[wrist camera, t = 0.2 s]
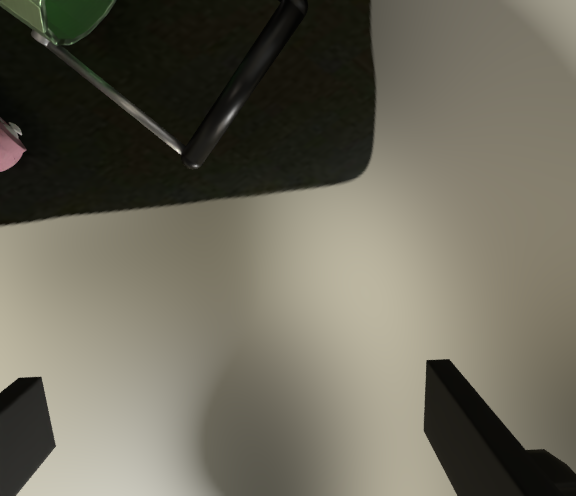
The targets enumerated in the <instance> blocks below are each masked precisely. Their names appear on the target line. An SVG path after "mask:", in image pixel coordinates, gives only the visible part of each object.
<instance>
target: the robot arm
mask: <svg viewBox="0 0 576 496" xmlns="http://www.w3.org/2000/svg"><path fill="white" fill-rule="evenodd" d="M424 432H425V434H426V436H427V438H428V440H429V442H430V444H431V446H432V448H433V450H434V451H435V453H436V455H437V457H438V459H439V461H440V463H441V465H442V467H443V469H444V470H445V473H446V474H447V476H448V478H449V480H450V482H451V484H452V486H453V488H454V490H455V492H456V494H457V496H576V474H575V473H574V472H573V471H572V470H571V469H570V467H569V466H568V465H567V464H565V463H564V462H562V461H561V460H559V459H558V458H556V457H555V456H553V455H552V454H550V453H549V452H547V451H546V450H544V449H543V450H542V449H540V450H525V449H524V448H523V446H521V444H520V443H519V442H518V440H517V439H516V438H515V437H514V436H513V435H512V433H511V432H510V431H509V430H508V429H507V428H506V426H505V425H504V424H503V423H502V421H501V420H500V419H499V418H498V417H497V416H496V415H495V413H494V412H493V411H492V410H491V409H490V408H489V406H488V405H487V404H486V403H485V401H484V400H483V399H482V398H481V397H480V395H479V394H478V393H477V392H476V391H475V389H474V388H473V387H472V386H471V385H470V383H469V382H468V381H467V380H466V379H465V378H464V376H463V375H462V374H461V373H460V372H459V370H458V369H457V368H456V367H455V366H454V365H453V363H452V362H451V361H450V360H449V359H446V360H445V359H443V360H427V362H426V387H425V412H424ZM55 447H56V445H55V440H54V436H53V431H52V426H51V421H50V416H49V411H48V407H47V402H46V397H45V392H44V387H43V382H42V378H41V377H28V378H27V377H26V378H18V379H17V380H16V381H14V382H13V383H12V384H11V385H9V386H8V387H7V388H6V389H4V390H3V391H2V392H1V393H0V496H16V495H17V493H18V492H19V491H20V490H21V488H22V487H23V486H24V485H25V484H26V482H27V481H28V480H29V478H31V476H32V475H33V474H34V473H35V471H36V470H37V469H38V468H39V466H40V465H41V464H42V463H43V462H44V460H45V459H46V458H47V457H48V455H49V454H50V453H51V452H52V450H53V449H54V448H55Z"/></svg>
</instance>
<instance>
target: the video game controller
mask: <svg viewBox="0 0 576 496" xmlns="http://www.w3.org/2000/svg"><path fill="white" fill-rule="evenodd" d="M9 124H10V125H11V126H12V127H11V126H9V125H8V124H7V123H6V122H5V121H4V120H3V119H2V118H1V117H0V172H1V171H5V170H7V169H9V168H10V167H12V166H14V165H15V164H16V163H17V162H18V161H19V159H20V158H21V156H22V154H23V152H24V151H26V148H25V146H24V145H23V143H22V142H21V141H20V140H19V138H18V134H17V132H18V133H19V134H20V135H22V132H21V129H20V128H19V127H18V126H17V125H16V124H13V123H11V122H9Z"/></svg>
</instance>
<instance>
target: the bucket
mask: <svg viewBox="0 0 576 496" xmlns="http://www.w3.org/2000/svg"><path fill="white" fill-rule="evenodd" d="M116 1H117V0H0V6H1V7H2V8H4V9H5V10H6V11H8V12H9V13H11V14H12V15H13V16H15V17H16V18H18V19H19V20H20V21H22V22H23V23H25V24H26V25H27V26H29V27H30V28H31V29H33V30H32V32H31V35H32V37H33V38H35V39H36V40H37V41H38V42H40V43H42V44H43V45H44V46H46V47H47V48H48V49H49V50H51V51H52V52H53V53H54V54H56V55H57V56H58V57H59V58H61V59H62V60H63V61H64V62H66V63H67V64H68V65H69V66H71V67H72V68H73V69H74V70H76V71H77V72H78V73H79V74H81V75H82V76H83V77H84V78H86V79H87V80H88V81H89V82H91V83H92V84H93V85H94V86H96V87H97V88H98V89H99V90H101V91H102V92H103V93H104V94H106V95H107V96H108V97H109V98H111V99H112V100H113V101H114V102H116V103H117V104H118V105H119V106H121V107H122V108H123V109H124V110H126V111H127V112H128V113H129V114H131V115H132V116H133V117H134V118H136V119H137V120H138V121H139V122H141V123H142V124H143V125H144V126H146V127H147V128H148V129H149V130H151V131H152V132H153V133H154V134H156V135H157V136H158V137H159V138H161V139H162V140H163V141H164V142H166V143H167V144H168V145H169V146H171V147H172V148H173V149H174V150H176V151H177V152H178V153H179V154H181V160H182V163H183V164H184V166H186V167H187V168H189V169H197V168H199V167H200V166H201V165H202V164H203V163H204V161H205V160H206V158H207V157H208V155H209V154H210V152H211V151H212V150H213V148H214V147H215V145H216V144H217V142H218V141H219V139H220V138H221V137H222V135H223V134H224V132H225V131H226V129H227V128H228V127H229V125H230V124H231V122H232V121H233V119H234V118H235V116H236V115H237V114H238V112H239V111H240V109H241V108H242V106H243V105H244V103H245V102H246V101H247V99H248V98H249V96H250V95H251V93H252V92H253V90H254V89H255V88H256V86H257V85H258V83H259V82H260V80H261V79H262V78H263V76H264V75H265V73H266V72H267V70H268V69H269V67H270V66H271V65H272V63H273V62H274V60H275V59H276V57H277V56H278V54H279V53H280V52H281V50H282V49H283V47H284V46H285V44H286V43H287V41H288V40H289V39H290V37H291V36H292V34H293V33H294V31H295V30H296V29H297V27H298V26H299V24H300V23H301V21H302V20H303V18H304V17H305V15H306V13H307V10H308V3H307V0H278V1H280V2H281V3H280V5H279V6H278V8H277V9H276V11H275V12H274V14H273V15H272V17H271V18H270V20H269V21H268V23H267V24H266V26H265V28H264V29H263V31H262V32H261V34H260V35H259V37H258V38H257V40H256V41H255V43H254V44H253V46H252V47H251V49H250V50H249V52H248V53H247V55H246V56H245V58H244V59H243V61H242V62H241V64H240V65H239V67H238V68H237V70H236V71H235V73H234V75H233V76H232V78H231V79H230V81H229V82H228V84H227V85H226V87H225V88H224V90H223V91H222V93H221V94H220V96H219V97H218V99H217V100H216V102H215V103H214V105H213V106H212V108H211V109H210V111H209V112H208V114H207V115H206V117H205V118H204V120H203V121H202V123H201V125H200V126H199V128H198V129H197V131H196V132H195V134H194V135H193V137H192V138H191V140H190V141H189V143H188V144H187V146H185V145H184V144H182V143H181V142H180V141H179V140H177V139H176V138H175V137H174V136H172V135H171V134H170V133H169V132H167V131H166V130H165V129H164V128H162V127H161V126H160V125H159V124H158V123H156V122H155V121H154V120H153V119H151V118H150V117H149V116H148V115H146V114H145V113H144V112H143V111H141V110H140V109H139V108H138V107H136V106H135V105H134V104H133V103H131V102H130V101H129V100H128V99H127V98H125V97H124V96H123V95H122V94H120V93H119V92H118V91H117V90H115V89H114V88H113V87H112V86H110V85H109V84H108V83H107V82H105V81H104V80H103V79H102V78H100V77H99V76H98V75H97V74H96V73H94V72H93V71H92V70H91V69H89V68H88V67H87V66H86V65H84V64H83V63H82V62H81V61H79V60H78V59H77V58H76V57H74V56H73V55H72V54H71V53H69V52H68V51H67V50H66V49H65V48H63V47H62V46H61V45H72V44H73V43H75V42H77V41H78V40H80V39H82V38H84V37H85V36H87V35H88V34H89V33H90V32H91V31H92V30H93V29H94V28H95V27H96V26H97V25H98V24H99V23H100V22H101V21H102V20H103V19H104V18H105V16H107V14H108V13H109V11H110V10H111V8H112V7H113V5H114V4H115V2H116Z"/></svg>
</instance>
